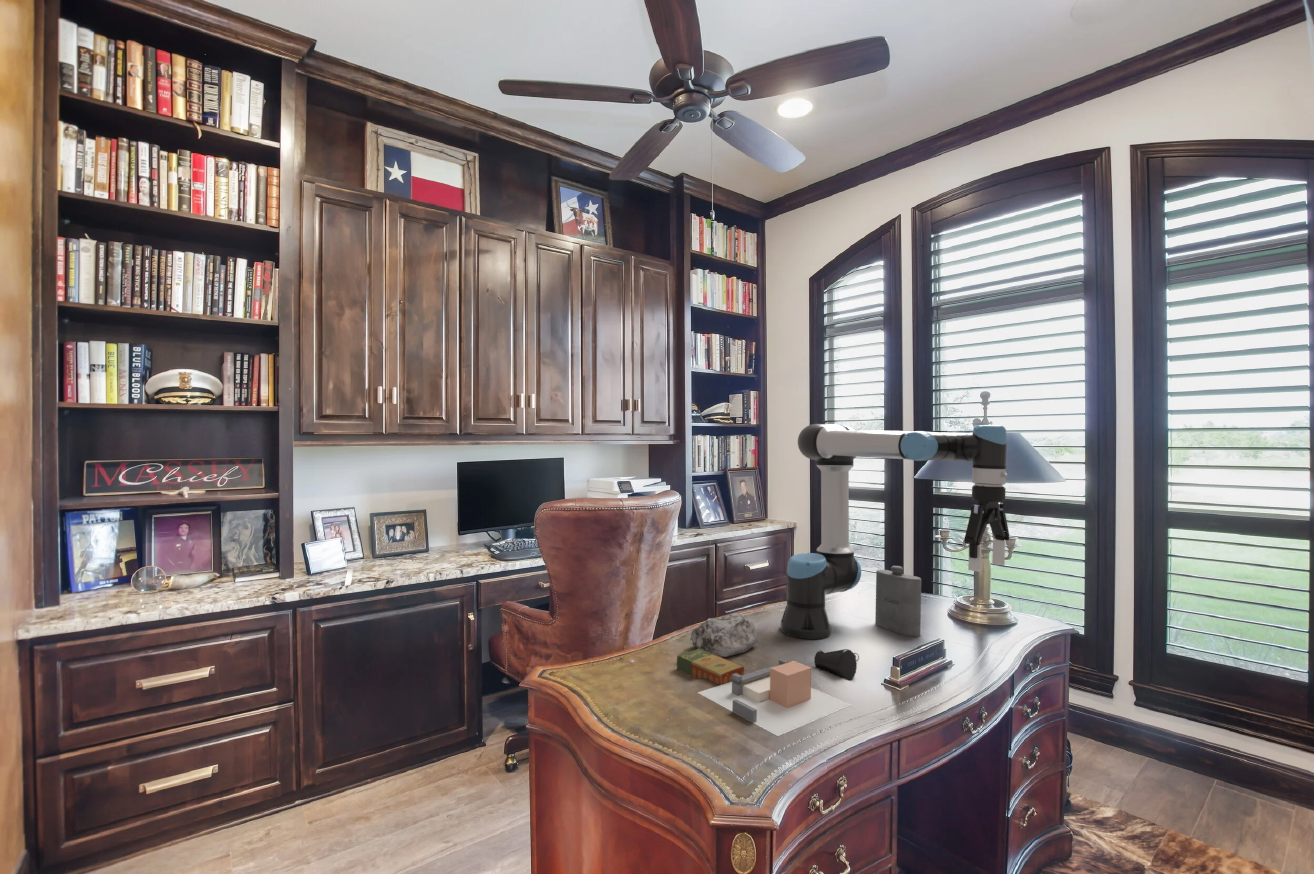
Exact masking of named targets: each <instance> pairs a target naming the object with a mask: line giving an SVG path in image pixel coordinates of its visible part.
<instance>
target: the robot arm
mask: <svg viewBox="0 0 1314 874" xmlns="http://www.w3.org/2000/svg"><path fill="white" fill-rule="evenodd" d="M1007 445H1008V442H1007V428H1006V427H1005V426H1003V425H996V424H991V425H989V424H983V425H982V424H981V425H980V424H978V425H977V424H976V425H974V426H973V430H972V432H944V431H943V432H942V431H941V432H940V431H939V432H938V431H925V430H915V431H914V430H911V431H907V430H905V431H904V430H859V429H858V430H855V429H854V428H852V427H850V426H848V425H843V424H838V423H837V424H833V423H832V424H829V423H828V424H826V423H825V424H824V423H813V424H809V425H807V426H806V427H804V428H803V429H801V431H800V433H799V434H798V437H797V447H798V449H799V451H800V454H801V455H802V456H804V457H805V458H808V460H809V459H810V460H813V461H816V467H817V468H818V469H819V470H820V477H821V478H820V480H821V481H820V489H821V490H820V492H821V494H820V495H821V496H820V497H821V498H820V501H821V502H820V503H821V504H820V505H821V507H820V508H821V509H820V512H821V513H820V514H821V524H820V525H821V527H820V528H821V529H820V530H821V537H820V538H821V540H820V541H821V543H820V544H819V546H818V547H817V548H816V553H815V552H814V553H813V552H806V553H803V552H802V553H796V554H794V555H792V556H790V558H789V559H788V561H787V568H786V606H785V608H784V612H783V615H782V617H781V620H780V631H781V632H782V633H784V634H786V635H788V636H790V637H794V638H797V639H798V638H799V639H808V640H809V639H810V640H818V639H825V638H828V637H829V636H831V633H832V629H831V628H832V626H831V624H830V621H829V617H828V613H827V609H826V595H830V594H835V593H842V592H843V593H844V592H846V591H847V592H848V591H849V590H852V589H854V588H855V587H856V586H857V585H858V584H859V582H860V580H861V577H862V567H861V566H862V565H861V564H860V562H859V561H858V560H859V559H858V558H856V556H855V551H854V549H853V548H852V547H851V546H850V531H849V530H850V523H849V522H850V519H849V517H850V516H849V515H850V511H849V510H850V505H849V503H850V502H849V500H850V499H849V497H850V493H849V491H850V490H849V489H850V488H849V487H850V485H849V483H850V481H849V477H850V475H849V474H850V473H849V472H850V470H851V469H853V467H854V459H856V458H857V457H858V458H859V457H860V458H876V459H877V458H879V459H894V460H895V459H897V460H910V461H914V462H915V461H916V462H924V461H925V462H926V461H944V462H945V461H953V462H954V461H959V462H961V461H963V462H972V471H971V472H972V473H971V474H972V475H971V483H973V484H974V485H972V486H971V498H972V500H974V501H977V504H971V506H970V507H971V508H970V514H969V519H968V523H967V527H966V531H965V536H964V537H963V538H964V539H963V540H964V541H963V542H964V544H965V545H968V564H967V565H968V568H967V569H968V571H973V572H978V573H981V572H982V545H981V542H982V539H983V536H984V534H985V531H986V528H987V526H988V525H989V526H990V529H991V532H992V534H993V537H994V539H992V558H991V559H992V561H991V564H992V565H996V566H1002V567H1003V566H1005V563H1006V562H1005V559H1006V558H1005V556H1006V554H1005V553H1006V541H1009V540H1010V531H1009V526H1008V521H1007V516H1006V510H1005V509H1006V508H1005V505H1006V504H1005V503H1004V502H1005V501H1006V487H1005V486H1004V485H1005V484H1006V477H1008V473H1007V471H1006V470H1007V464H1006V463H1007Z"/></svg>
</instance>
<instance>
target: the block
mask: <svg viewBox="0 0 1314 874" xmlns="http://www.w3.org/2000/svg"><path fill="white" fill-rule="evenodd" d="M811 688H812V667H811V666H808V665H806V664H803V663H800V662H799V661H796V660H792V661H789V662H788V663H785V664H782V665H779V666H776V667H773V668H770V700H771V701H774V702H776V703H778V704H780V705H782V706H784V707H786V708H789V707H791V706H794V705H796V704H799V703H802V702H804V701H807V700H809V699H811Z"/></svg>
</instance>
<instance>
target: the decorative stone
mask: <svg viewBox="0 0 1314 874" xmlns="http://www.w3.org/2000/svg"><path fill="white" fill-rule="evenodd" d="M754 623H755V622H754V621H752V619H750V618H748V617H745V616H744V615H743V614H740V613H739V612H732V613H730V614H727V615H724V616H723V615H722V616H719V617H711V618H707V620H705V621H704V622H702V623H700V625H698V626H696V627H695V628H694V629H692V631H691V633H690V640H691V641H690V642H691V643H692V645H693V646H694V647H695V648H697V649H702V650H704V651H707V652H709V653H712V654H714V655H717V656H719V657H721V658H727V657H731V656H735V655H739V654H743V653H746V652H748V651H749V650H750V649H751V648H752V647H754V646H755V644H756V643H757V642H758V632H757V629H756V625H755V624H754Z"/></svg>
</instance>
